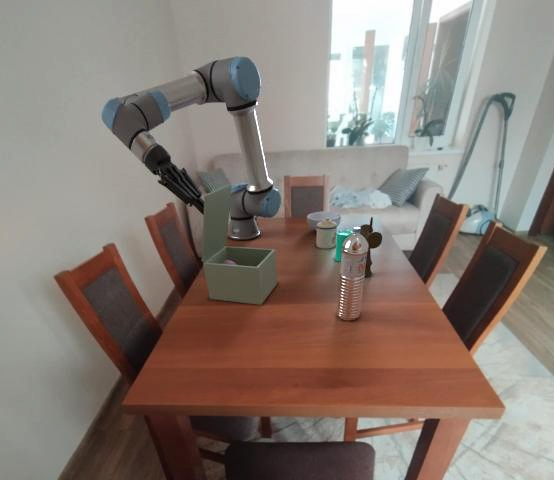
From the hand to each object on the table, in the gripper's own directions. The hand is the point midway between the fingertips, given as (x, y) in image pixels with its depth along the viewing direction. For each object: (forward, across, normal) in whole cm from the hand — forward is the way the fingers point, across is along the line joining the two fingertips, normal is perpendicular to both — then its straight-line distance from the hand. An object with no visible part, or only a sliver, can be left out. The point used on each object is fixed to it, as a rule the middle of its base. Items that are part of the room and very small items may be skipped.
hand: (212, 217), depth 102 cm
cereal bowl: (+31, +75, +3) cm, 81 cm away
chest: (+22, 0, +11) cm, 25 cm away
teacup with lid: (+35, +54, -1) cm, 64 cm away
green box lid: (+2, 0, 0) cm, 2 cm away
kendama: (+50, +23, -16) cm, 57 cm away
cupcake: (+20, 0, +10) cm, 23 cm away
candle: (+42, +37, -8) cm, 57 cm away
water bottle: (+49, -8, -15) cm, 52 cm away
